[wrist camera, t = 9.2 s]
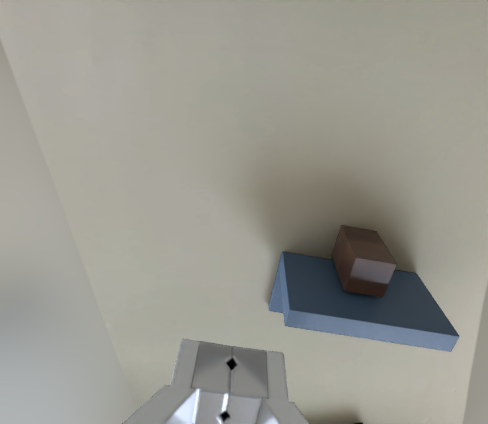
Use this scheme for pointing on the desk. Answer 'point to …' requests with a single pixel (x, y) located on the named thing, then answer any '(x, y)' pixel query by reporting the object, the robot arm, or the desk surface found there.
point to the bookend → (358, 305)
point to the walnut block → (363, 261)
